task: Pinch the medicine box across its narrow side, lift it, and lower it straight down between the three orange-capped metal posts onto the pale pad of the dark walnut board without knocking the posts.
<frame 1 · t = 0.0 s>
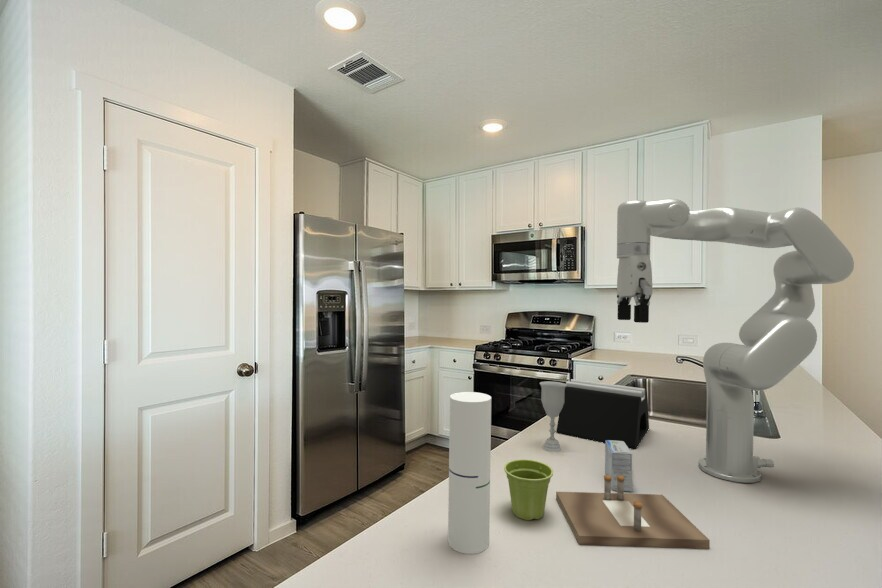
hand: (632, 321, 103), 37 cm above the counter, tool pointing down, fingers open, 9 cm apart
medicine box: (617, 484, 95), on the counter
device stand: (603, 432, 131), on the counter
cylindrical container: (468, 542, 72), on the counter
plant pot: (527, 513, 82), on the counter
chalice: (552, 449, 116), on the counter
pin board: (624, 521, 79), on the counter
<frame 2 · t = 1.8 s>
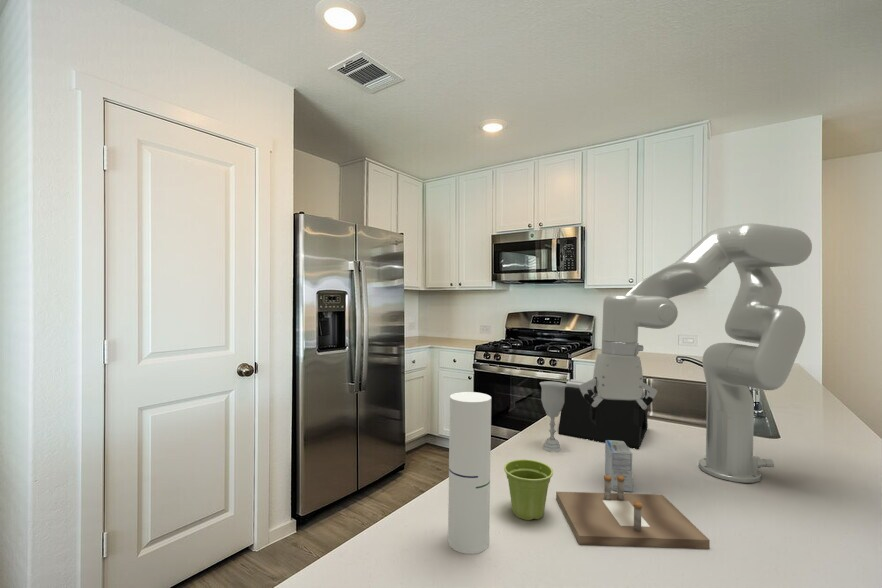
hand: (616, 424, 95), 14 cm above the counter, tool pointing down, fingers open, 9 cm apart
nothing on the counter moved.
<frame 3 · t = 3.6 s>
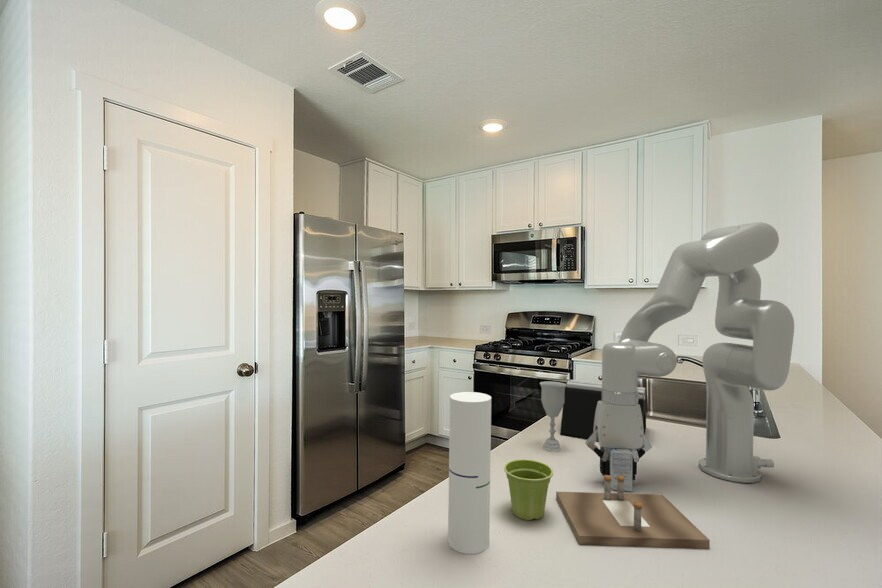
hand: (618, 476, 95), 2 cm above the counter, tool pointing down, fingers closed on medicine box, 5 cm apart
medicine box: (617, 484, 95), on the counter, touching gripper
everything else where it was.
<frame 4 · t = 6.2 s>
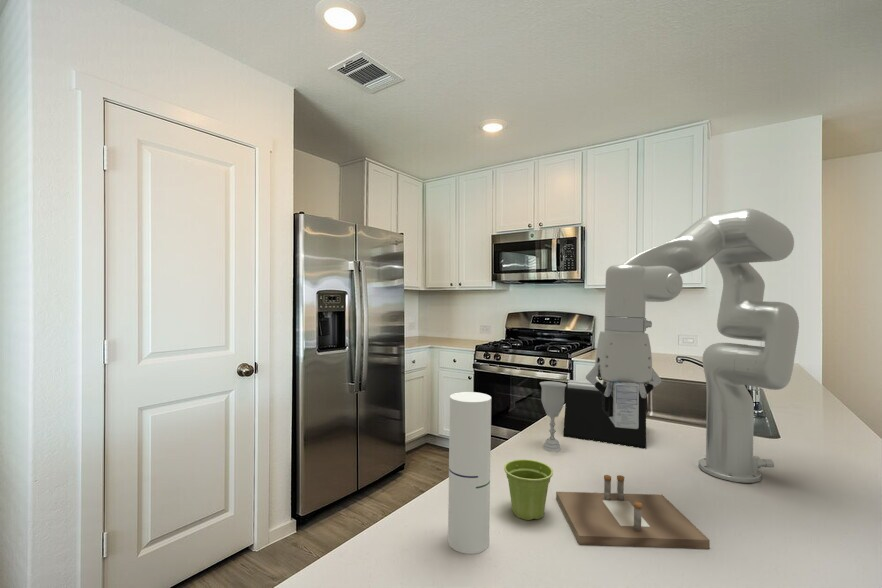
hand: (622, 414, 84), 19 cm above the counter, tool pointing down, fingers closed on medicine box, 5 cm apart
medicine box: (622, 423, 84), point 17 cm above the counter, touching gripper
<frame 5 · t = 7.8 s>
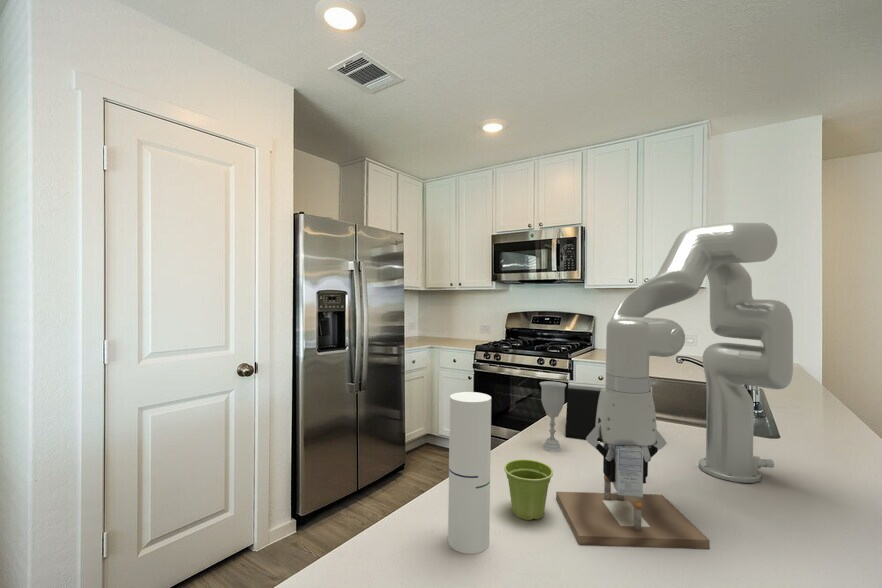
hand: (625, 478, 79), 8 cm above the counter, tool pointing down, fingers closed on medicine box, 5 cm apart
medicine box: (624, 488, 79), point 6 cm above the counter, touching gripper
when the fingers open (4 cm above the counter, at t = 9.0 s): medicine box stays where it is, resting on pin board.
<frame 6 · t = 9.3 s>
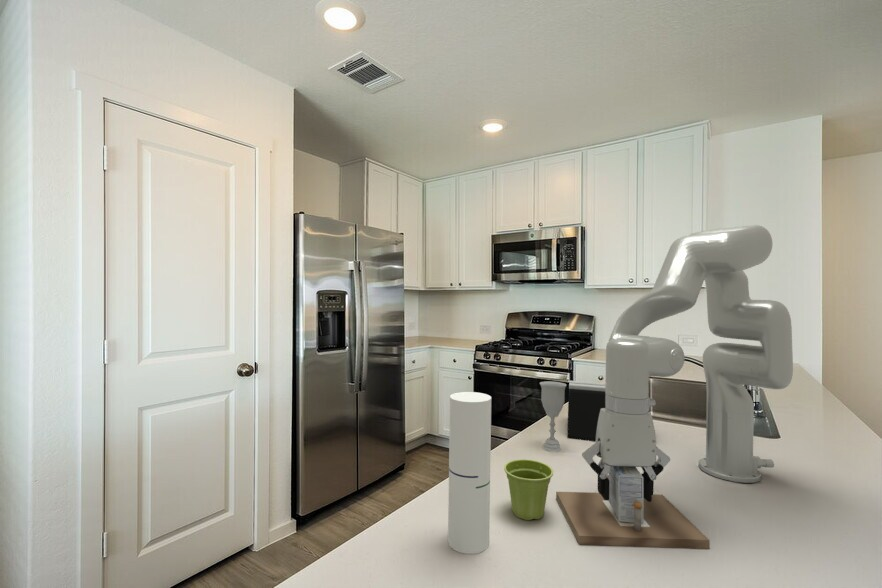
hand: (625, 496, 79), 5 cm above the counter, tool pointing down, fingers open, 7 cm apart
medicine box: (624, 513, 79), point 1 cm above the counter, touching pin board
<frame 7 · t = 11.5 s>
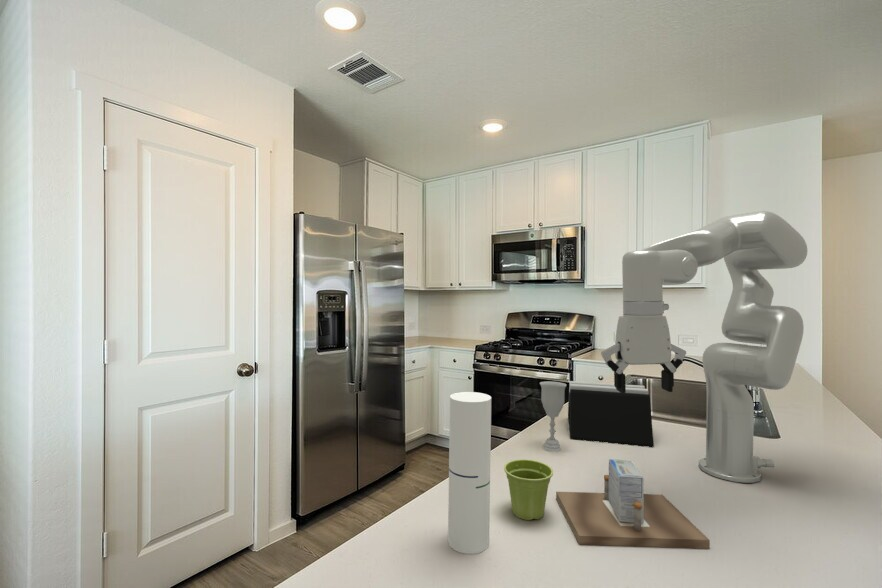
hand: (643, 390, 87), 23 cm above the counter, tool pointing down, fingers open, 9 cm apart
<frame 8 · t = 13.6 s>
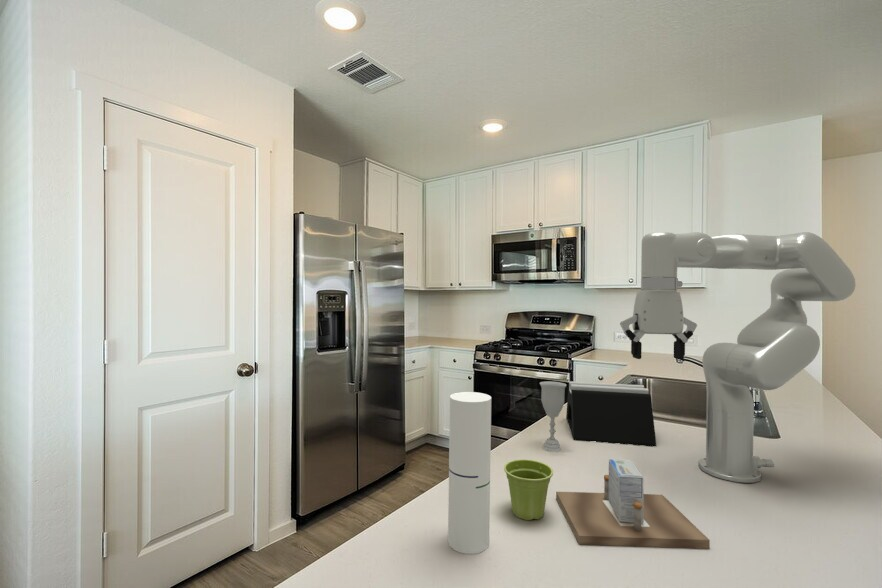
hand: (657, 358, 98), 28 cm above the counter, tool pointing down, fingers open, 9 cm apart
at the end: medicine box 0.1 cm off-centre on the pin board, point 1.4 cm above the pin board's base; medicine box tilted 0°; the gripper is holding nothing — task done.
